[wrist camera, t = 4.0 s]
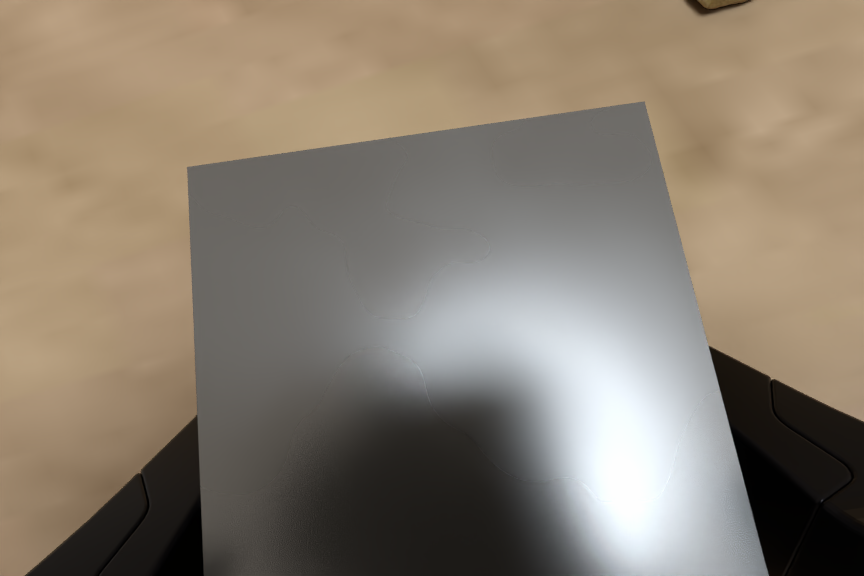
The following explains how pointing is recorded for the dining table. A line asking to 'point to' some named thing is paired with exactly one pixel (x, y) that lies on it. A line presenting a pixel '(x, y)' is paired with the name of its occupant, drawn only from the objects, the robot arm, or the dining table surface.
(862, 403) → the dining table surface
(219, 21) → the dining table surface
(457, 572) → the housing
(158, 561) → the robot arm
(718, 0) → the rock
